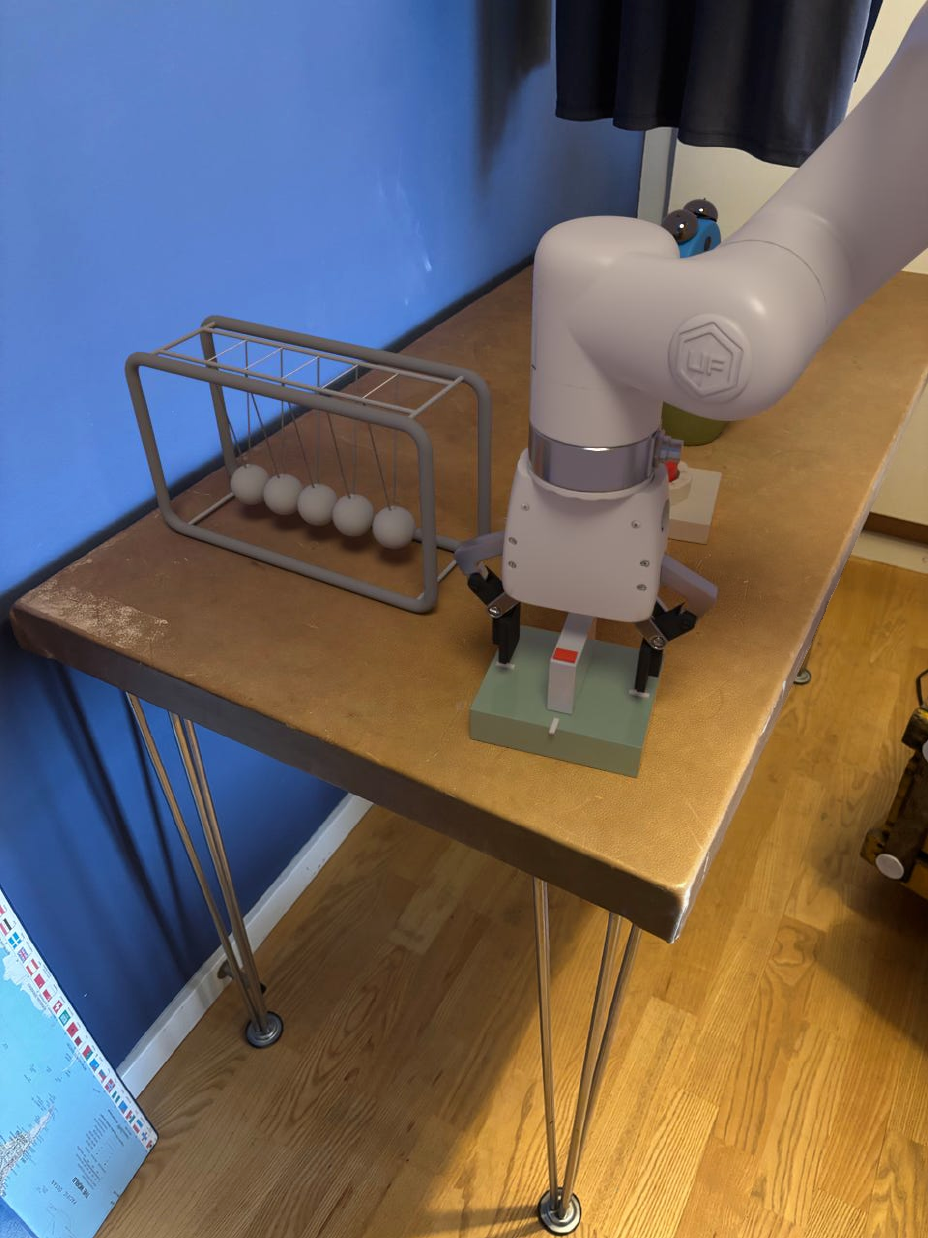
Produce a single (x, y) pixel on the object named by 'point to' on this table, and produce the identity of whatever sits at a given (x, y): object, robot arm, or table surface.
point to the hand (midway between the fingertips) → (574, 665)
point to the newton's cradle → (317, 499)
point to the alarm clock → (694, 227)
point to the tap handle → (570, 662)
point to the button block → (692, 503)
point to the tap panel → (602, 717)
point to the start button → (671, 470)
